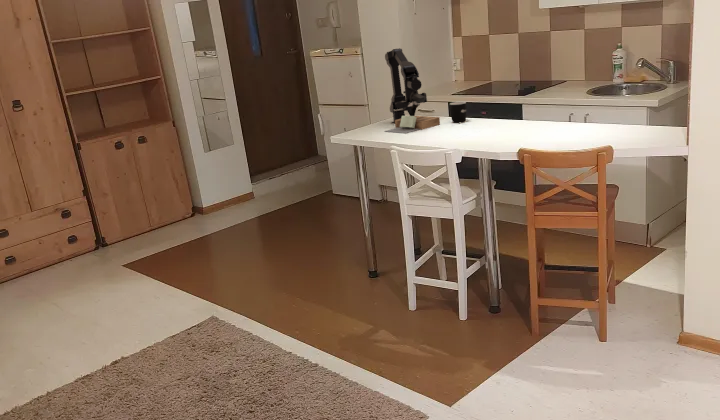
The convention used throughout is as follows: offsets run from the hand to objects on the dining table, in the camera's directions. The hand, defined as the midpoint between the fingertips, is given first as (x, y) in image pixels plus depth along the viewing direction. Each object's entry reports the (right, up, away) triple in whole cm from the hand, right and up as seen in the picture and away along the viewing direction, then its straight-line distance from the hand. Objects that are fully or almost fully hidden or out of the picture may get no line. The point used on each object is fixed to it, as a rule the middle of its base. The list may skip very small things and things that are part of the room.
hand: (412, 118), depth 353 cm
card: (-2, -2, -2) cm, 3 cm away
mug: (+26, -1, +5) cm, 27 cm away
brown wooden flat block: (+3, -4, +5) cm, 7 cm away
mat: (-6, -7, -4) cm, 10 cm away
